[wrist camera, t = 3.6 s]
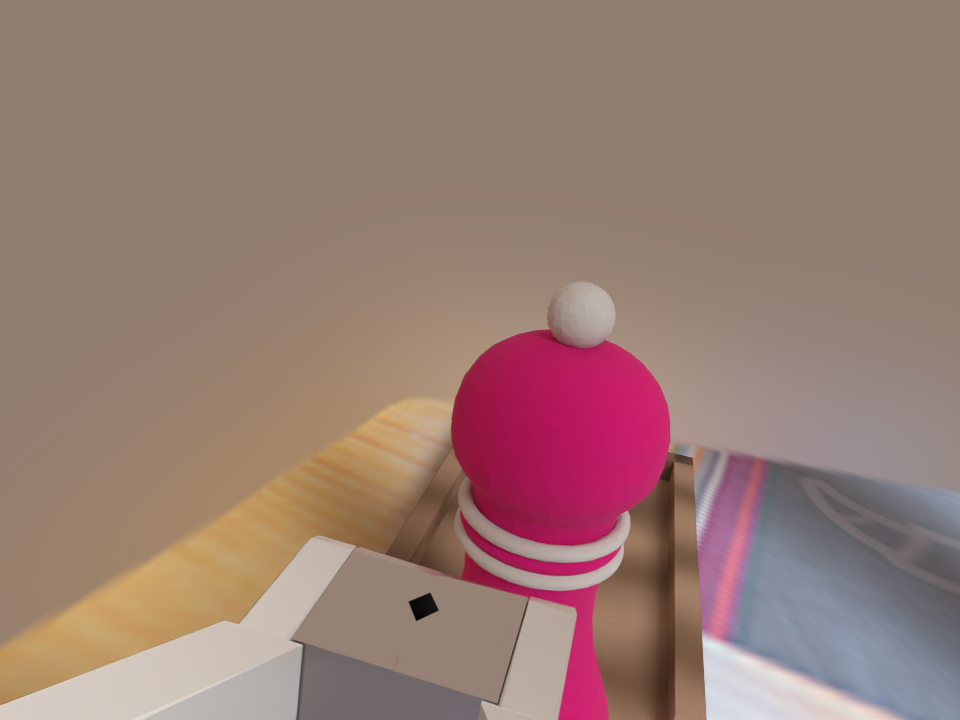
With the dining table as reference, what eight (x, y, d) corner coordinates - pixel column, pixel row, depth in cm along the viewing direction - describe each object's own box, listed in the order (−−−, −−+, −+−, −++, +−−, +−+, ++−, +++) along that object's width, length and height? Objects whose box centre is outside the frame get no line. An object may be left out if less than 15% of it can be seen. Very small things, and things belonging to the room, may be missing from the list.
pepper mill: (336, 817, 26) (388, 260, 19) (474, 706, 31) (556, 239, 24) (492, 988, 22) (637, 357, 14) (621, 828, 27) (775, 305, 20)
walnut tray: (472, 439, 53) (477, 408, 52) (683, 489, 51) (692, 457, 50) (341, 664, 32) (345, 618, 31) (691, 770, 30) (706, 724, 29)
